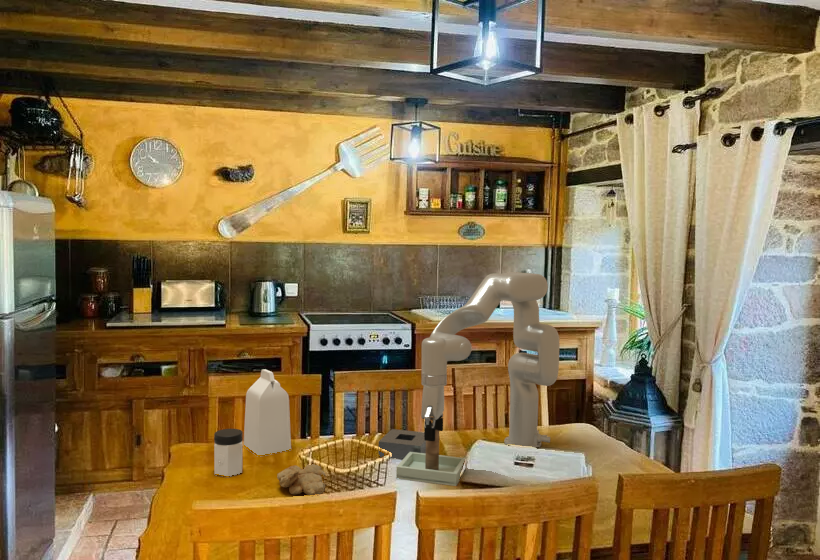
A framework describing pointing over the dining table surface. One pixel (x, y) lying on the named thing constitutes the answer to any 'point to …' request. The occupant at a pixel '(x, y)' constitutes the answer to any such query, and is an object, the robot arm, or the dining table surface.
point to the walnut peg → (432, 453)
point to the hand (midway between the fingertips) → (433, 435)
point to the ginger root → (303, 479)
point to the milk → (267, 416)
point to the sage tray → (415, 469)
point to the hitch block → (402, 443)
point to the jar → (228, 452)
